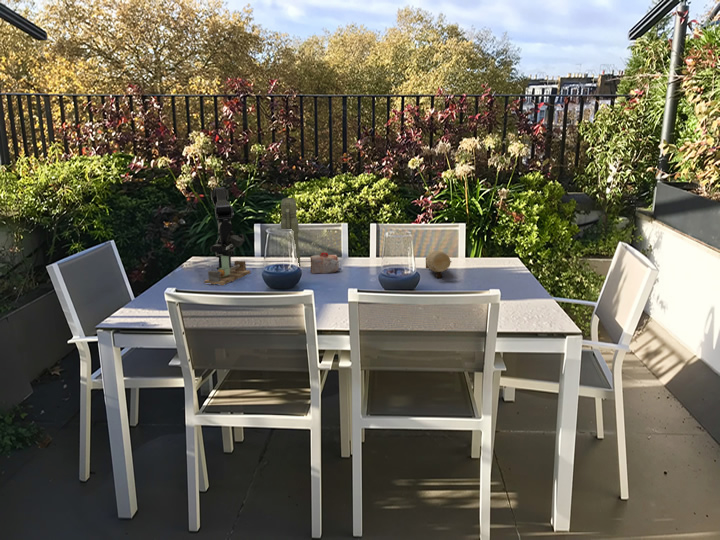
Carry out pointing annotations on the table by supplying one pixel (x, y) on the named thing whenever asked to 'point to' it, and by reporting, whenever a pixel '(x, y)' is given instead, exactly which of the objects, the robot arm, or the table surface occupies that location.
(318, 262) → the food item
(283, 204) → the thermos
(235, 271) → the linear slide rail
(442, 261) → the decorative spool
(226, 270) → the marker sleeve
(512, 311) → the table surface
